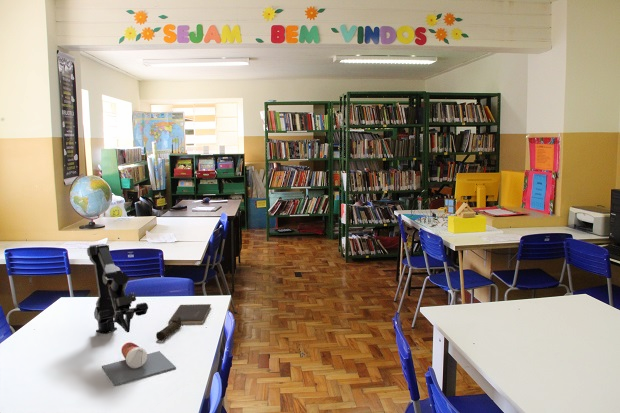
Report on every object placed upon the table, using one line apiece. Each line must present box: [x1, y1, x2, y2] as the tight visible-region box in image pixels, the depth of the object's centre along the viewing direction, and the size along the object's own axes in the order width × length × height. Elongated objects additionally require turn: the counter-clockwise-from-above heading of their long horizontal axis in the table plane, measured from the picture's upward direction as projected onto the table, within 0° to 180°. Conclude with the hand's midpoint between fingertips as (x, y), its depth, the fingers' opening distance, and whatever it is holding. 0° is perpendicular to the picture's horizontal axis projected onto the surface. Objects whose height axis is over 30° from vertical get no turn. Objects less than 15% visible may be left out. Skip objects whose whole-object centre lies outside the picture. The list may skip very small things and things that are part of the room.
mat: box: [101, 350, 177, 387], centre depth 186 cm, size 18×22×1 cm
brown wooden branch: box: [155, 317, 182, 341], centre depth 221 cm, size 19×4×5 cm, turn 165°
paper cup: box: [121, 341, 148, 368], centre depth 189 cm, size 8×8×14 cm
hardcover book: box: [167, 303, 212, 325], centre depth 242 cm, size 16×23×2 cm
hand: (128, 331), depth 194 cm, fingers closed
